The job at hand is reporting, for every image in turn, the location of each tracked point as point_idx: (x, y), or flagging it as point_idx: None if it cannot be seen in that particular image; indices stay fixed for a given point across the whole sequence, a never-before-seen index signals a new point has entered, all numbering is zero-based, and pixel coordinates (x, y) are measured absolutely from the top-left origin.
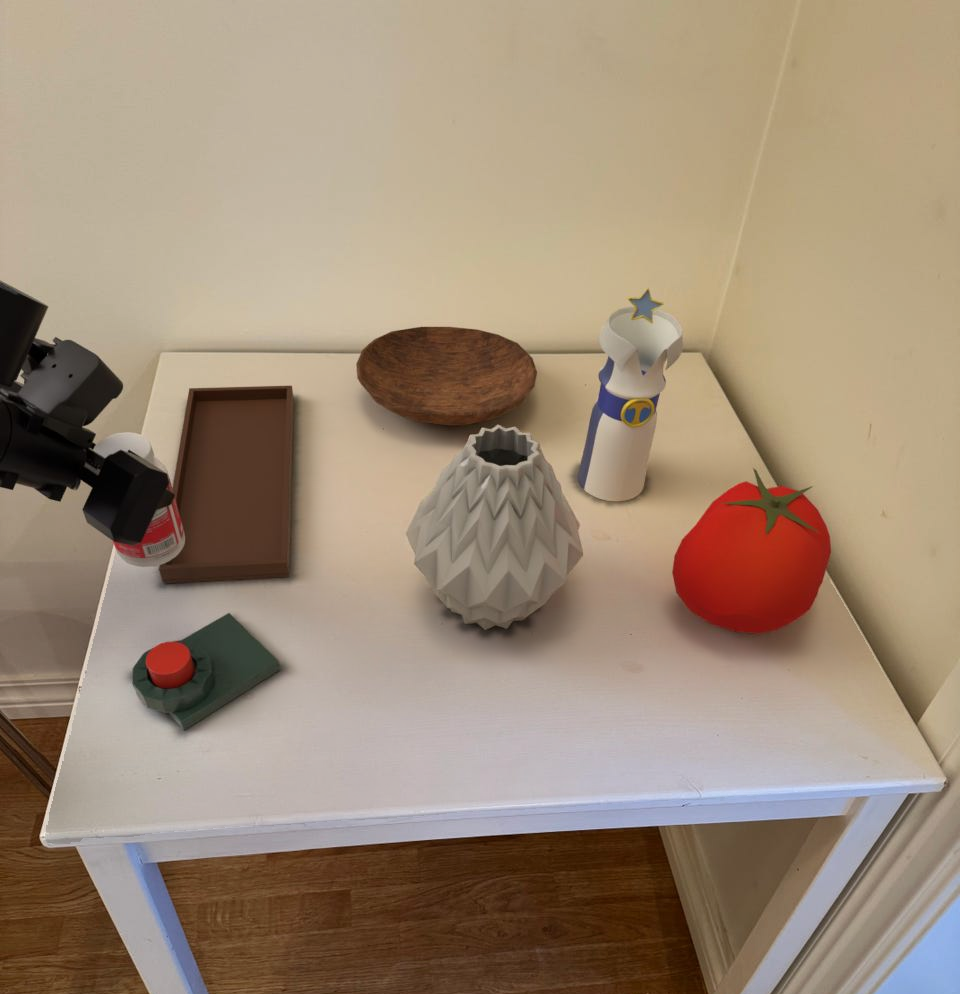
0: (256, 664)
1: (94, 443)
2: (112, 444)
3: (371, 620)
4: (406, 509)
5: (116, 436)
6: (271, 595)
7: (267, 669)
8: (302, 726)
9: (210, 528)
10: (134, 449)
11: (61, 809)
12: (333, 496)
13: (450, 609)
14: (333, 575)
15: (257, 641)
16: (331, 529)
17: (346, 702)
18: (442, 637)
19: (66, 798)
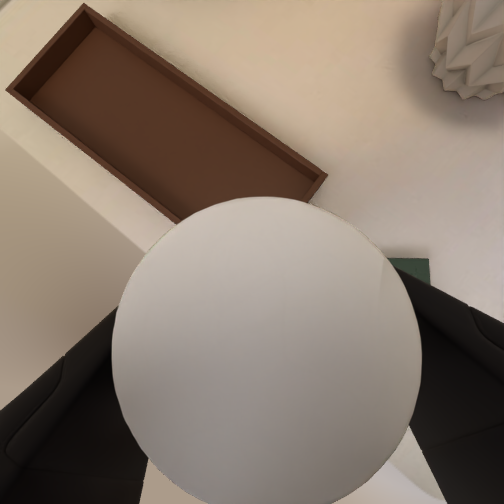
0: (418, 277)
1: (88, 375)
2: (195, 365)
3: (420, 161)
4: (317, 45)
5: (147, 311)
6: (331, 210)
7: (429, 272)
8: (488, 284)
9: (215, 202)
10: (315, 298)
11: (433, 497)
12: (254, 85)
13: (465, 98)
14: (347, 151)
15: (392, 259)
16: (292, 115)
17: (489, 238)
18: (480, 126)
19: (425, 488)
